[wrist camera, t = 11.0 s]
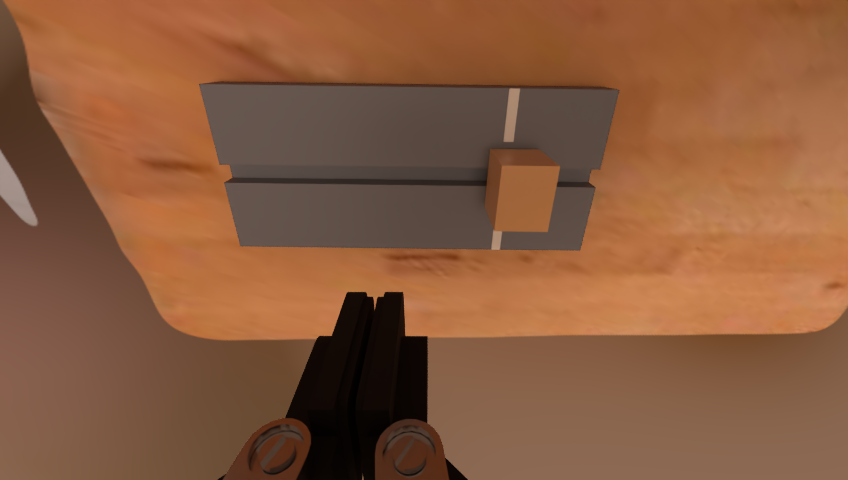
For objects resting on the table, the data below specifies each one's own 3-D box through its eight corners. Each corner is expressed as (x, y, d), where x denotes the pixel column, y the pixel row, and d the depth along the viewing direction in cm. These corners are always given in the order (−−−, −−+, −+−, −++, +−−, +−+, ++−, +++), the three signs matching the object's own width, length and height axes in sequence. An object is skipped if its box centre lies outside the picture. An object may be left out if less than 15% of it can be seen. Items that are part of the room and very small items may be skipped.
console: (602, 86, 30) (620, 90, 27) (568, 236, 36) (580, 250, 33) (219, 81, 30) (198, 84, 27) (254, 232, 36) (239, 246, 33)
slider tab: (534, 145, 30) (560, 166, 24) (525, 200, 32) (547, 231, 27) (487, 144, 30) (501, 165, 24) (481, 199, 32) (494, 231, 27)
